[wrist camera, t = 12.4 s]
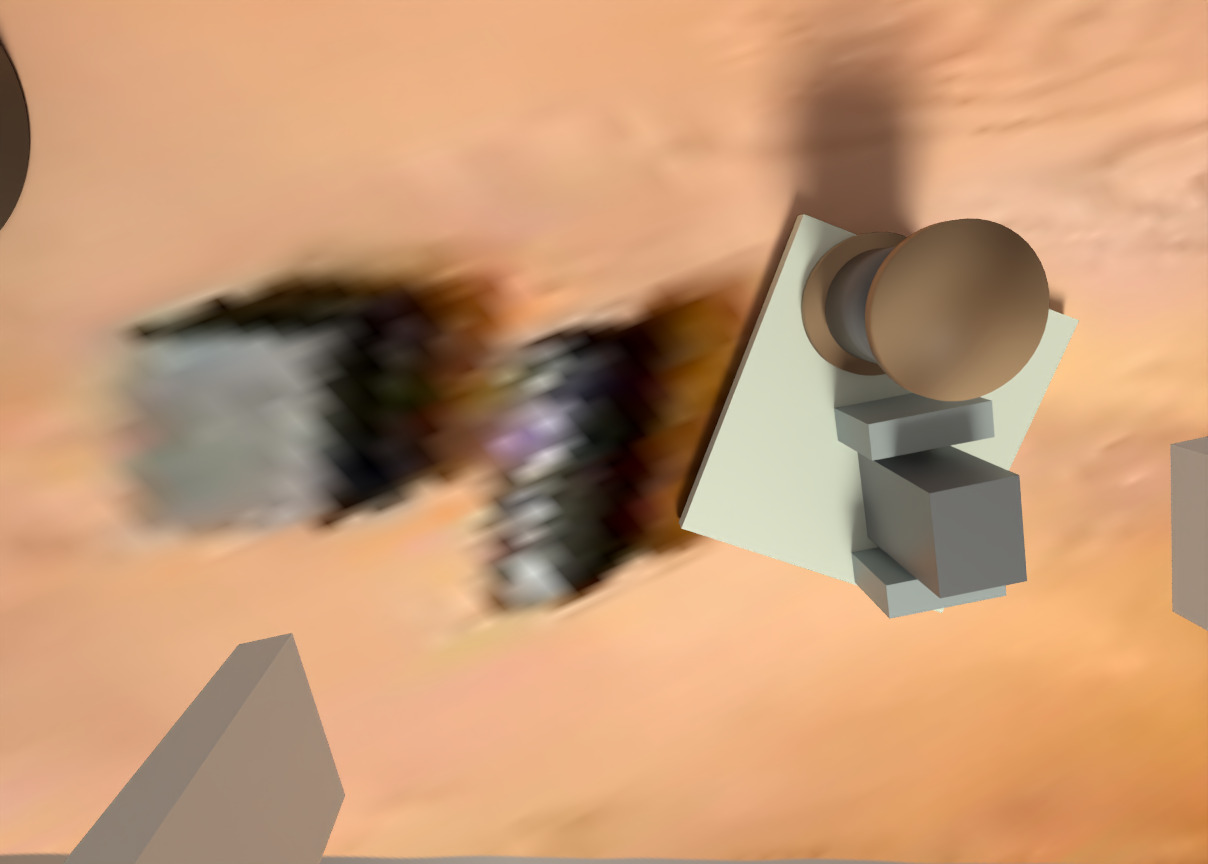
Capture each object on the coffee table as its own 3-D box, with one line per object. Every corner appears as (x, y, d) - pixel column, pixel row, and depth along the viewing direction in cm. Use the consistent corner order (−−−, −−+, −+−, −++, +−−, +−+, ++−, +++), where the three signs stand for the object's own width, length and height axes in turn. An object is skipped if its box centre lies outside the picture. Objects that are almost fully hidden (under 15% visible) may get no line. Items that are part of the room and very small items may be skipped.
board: (678, 522, 41) (681, 528, 40) (797, 215, 38) (803, 214, 37) (933, 605, 43) (942, 612, 42) (1066, 319, 40) (1078, 320, 39)
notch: (854, 582, 41) (889, 618, 37) (833, 408, 39) (868, 424, 35) (959, 561, 41) (1006, 595, 37) (943, 387, 39) (992, 400, 35)
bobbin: (780, 347, 38) (844, 367, 30) (833, 212, 37) (917, 191, 28) (903, 392, 39) (1001, 424, 30) (960, 261, 38) (1079, 256, 29)
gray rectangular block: (867, 537, 41) (940, 598, 33) (857, 451, 40) (929, 493, 32) (938, 522, 41) (1026, 580, 33) (929, 436, 40) (1019, 475, 32)
